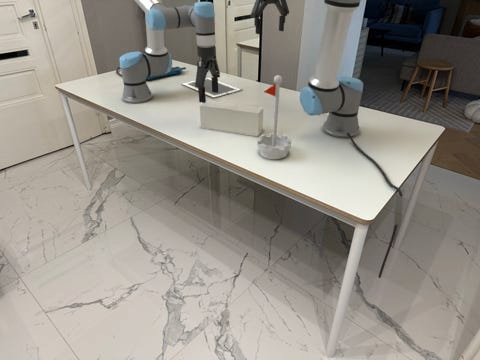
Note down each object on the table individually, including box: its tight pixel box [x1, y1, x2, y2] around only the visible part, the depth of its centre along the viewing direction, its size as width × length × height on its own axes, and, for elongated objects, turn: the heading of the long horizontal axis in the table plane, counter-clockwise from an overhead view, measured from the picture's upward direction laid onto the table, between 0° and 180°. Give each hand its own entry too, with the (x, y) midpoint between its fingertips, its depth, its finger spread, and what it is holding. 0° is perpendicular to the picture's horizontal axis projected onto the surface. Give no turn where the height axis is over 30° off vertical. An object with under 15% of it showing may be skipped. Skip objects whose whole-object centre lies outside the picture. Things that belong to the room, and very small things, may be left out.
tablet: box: [181, 77, 242, 99], centre depth 200 cm, size 32×20×1 cm, turn 41°
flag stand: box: [256, 74, 292, 160], centre depth 125 cm, size 13×13×30 cm
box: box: [199, 100, 264, 137], centre depth 149 cm, size 27×6×11 cm, turn 70°
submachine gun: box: [146, 66, 187, 81], centre depth 223 cm, size 34×4×25 cm
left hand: (209, 97), depth 147 cm, fingers open, 13 cm apart
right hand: (269, 32), depth 158 cm, fingers open, 13 cm apart
